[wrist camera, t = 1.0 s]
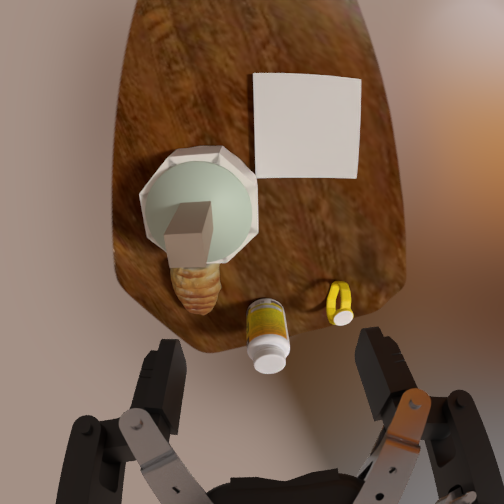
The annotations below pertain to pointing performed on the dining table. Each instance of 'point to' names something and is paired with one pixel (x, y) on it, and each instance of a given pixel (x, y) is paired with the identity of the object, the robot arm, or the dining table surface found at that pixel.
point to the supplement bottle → (267, 335)
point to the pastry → (197, 287)
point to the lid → (198, 213)
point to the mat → (306, 125)
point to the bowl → (218, 157)
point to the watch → (344, 312)
